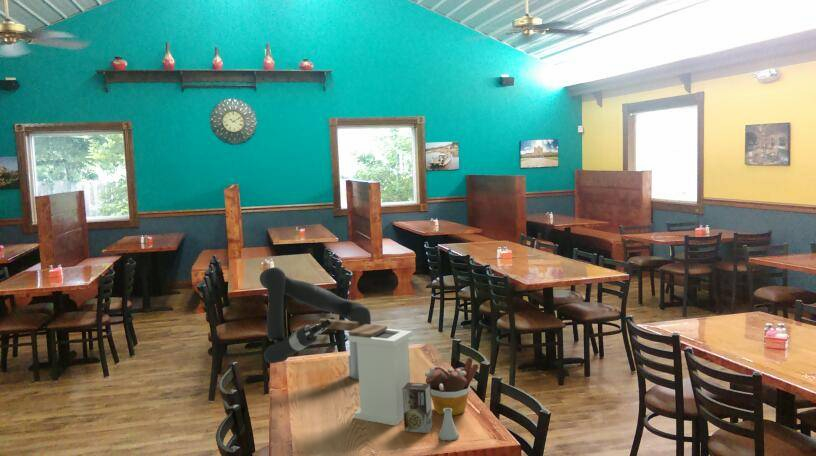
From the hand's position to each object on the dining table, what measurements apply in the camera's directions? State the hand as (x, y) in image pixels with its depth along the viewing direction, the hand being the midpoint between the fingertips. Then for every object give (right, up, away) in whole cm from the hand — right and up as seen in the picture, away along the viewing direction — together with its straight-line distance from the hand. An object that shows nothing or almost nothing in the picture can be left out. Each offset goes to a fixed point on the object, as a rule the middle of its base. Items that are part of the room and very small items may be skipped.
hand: (332, 320), depth 257 cm
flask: (+44, -37, -28) cm, 64 cm away
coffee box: (+34, -37, -20) cm, 54 cm away
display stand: (+21, -35, -6) cm, 41 cm away
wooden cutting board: (+7, -3, -3) cm, 9 cm away
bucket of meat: (+47, -34, -5) cm, 58 cm away
